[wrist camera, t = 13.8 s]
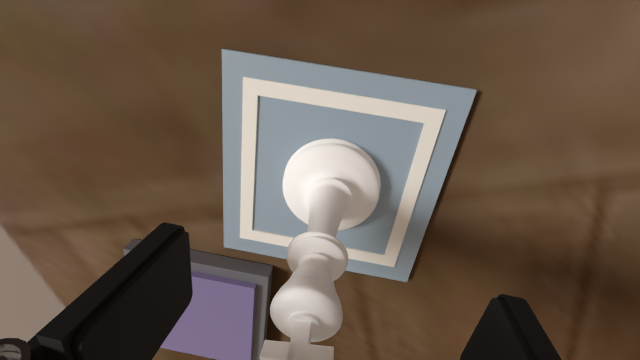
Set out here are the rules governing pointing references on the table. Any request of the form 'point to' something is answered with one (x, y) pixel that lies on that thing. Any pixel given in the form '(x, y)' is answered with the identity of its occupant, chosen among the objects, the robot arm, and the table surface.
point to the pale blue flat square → (337, 123)
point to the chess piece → (319, 243)
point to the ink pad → (223, 308)
